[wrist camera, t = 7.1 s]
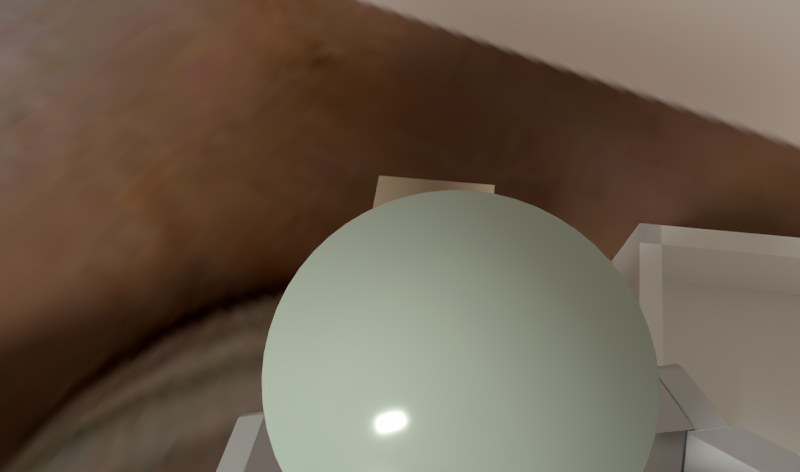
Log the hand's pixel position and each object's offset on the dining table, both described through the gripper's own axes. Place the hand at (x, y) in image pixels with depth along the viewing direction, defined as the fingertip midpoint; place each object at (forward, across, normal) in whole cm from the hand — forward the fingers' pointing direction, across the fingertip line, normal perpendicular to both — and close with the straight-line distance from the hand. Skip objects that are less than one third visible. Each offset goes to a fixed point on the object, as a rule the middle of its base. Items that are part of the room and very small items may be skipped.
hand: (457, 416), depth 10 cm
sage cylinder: (+3, 0, +4) cm, 5 cm away
